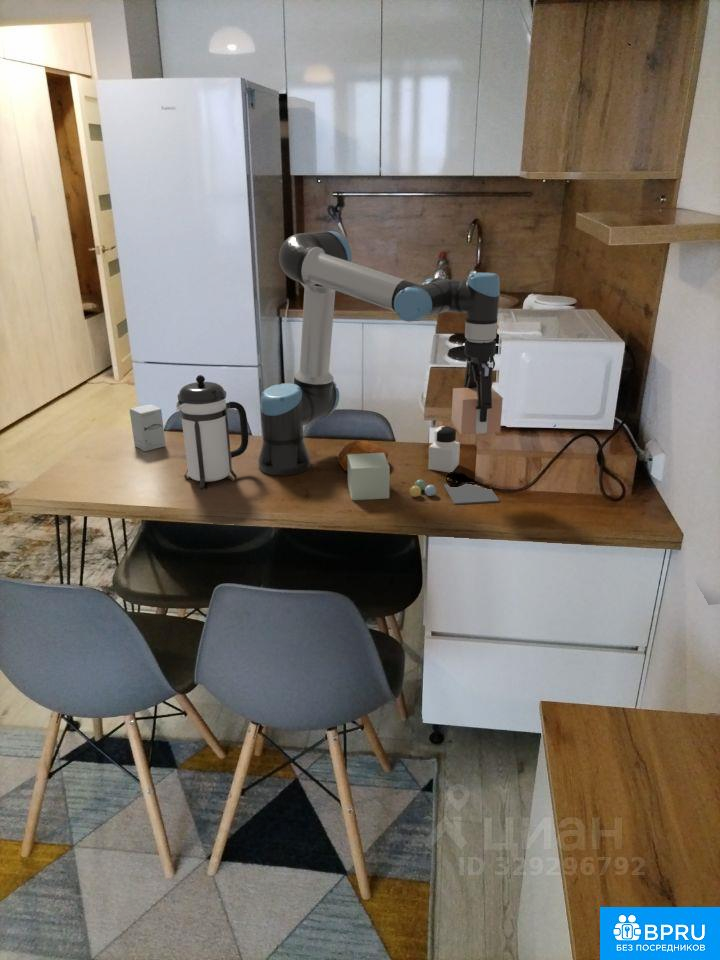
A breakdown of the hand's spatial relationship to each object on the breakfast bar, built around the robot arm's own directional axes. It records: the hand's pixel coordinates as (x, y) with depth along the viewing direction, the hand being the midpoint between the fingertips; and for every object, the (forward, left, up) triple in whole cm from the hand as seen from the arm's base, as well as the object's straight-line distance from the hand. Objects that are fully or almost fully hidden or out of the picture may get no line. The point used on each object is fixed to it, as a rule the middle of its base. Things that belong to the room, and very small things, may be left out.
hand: (475, 426), depth 177 cm
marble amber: (-15, 0, -19) cm, 24 cm away
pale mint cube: (-27, +5, -19) cm, 34 cm away
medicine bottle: (-3, +19, -19) cm, 27 cm away
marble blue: (-11, 0, -19) cm, 22 cm away
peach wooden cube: (0, 0, 0) cm, 0 cm away
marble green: (-13, +4, -19) cm, 23 cm away
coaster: (0, 0, -19) cm, 19 cm away
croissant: (-26, +24, -20) cm, 40 cm away
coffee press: (-69, +20, -19) cm, 74 cm away
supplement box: (-91, +48, -19) cm, 105 cm away
